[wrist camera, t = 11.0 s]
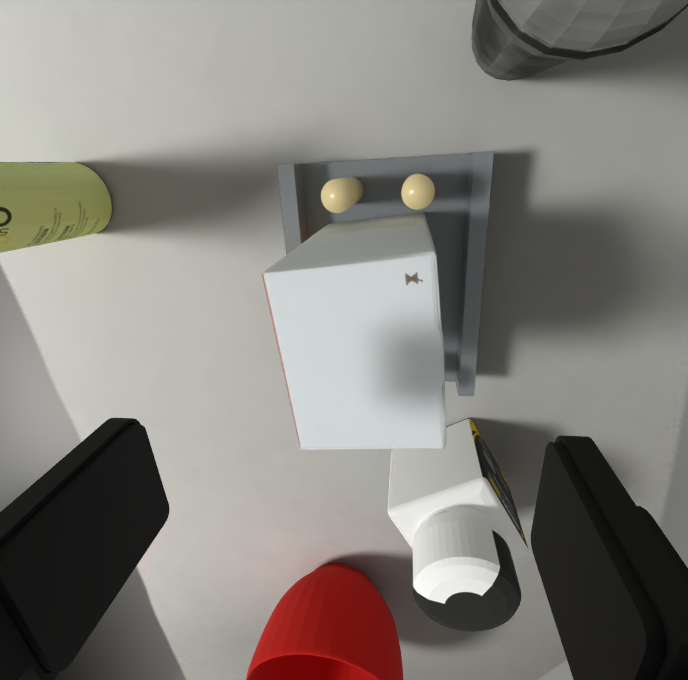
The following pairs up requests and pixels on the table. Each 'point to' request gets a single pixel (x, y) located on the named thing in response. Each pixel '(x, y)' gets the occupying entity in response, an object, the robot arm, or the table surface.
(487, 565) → the medicine bottle
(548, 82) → the table surface
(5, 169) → the tube
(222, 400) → the table surface
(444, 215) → the pin tray
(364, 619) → the ceramic cup
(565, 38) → the beverage cup
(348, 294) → the small box
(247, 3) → the table surface
